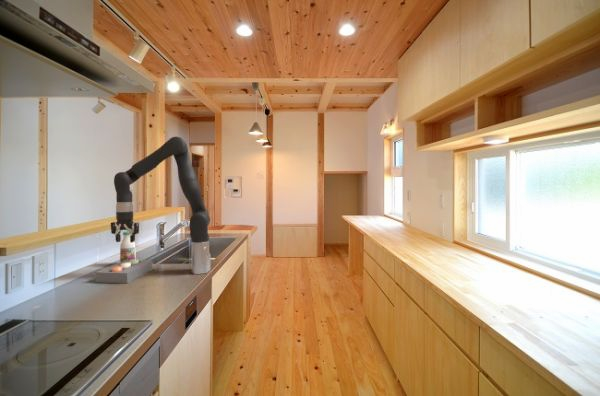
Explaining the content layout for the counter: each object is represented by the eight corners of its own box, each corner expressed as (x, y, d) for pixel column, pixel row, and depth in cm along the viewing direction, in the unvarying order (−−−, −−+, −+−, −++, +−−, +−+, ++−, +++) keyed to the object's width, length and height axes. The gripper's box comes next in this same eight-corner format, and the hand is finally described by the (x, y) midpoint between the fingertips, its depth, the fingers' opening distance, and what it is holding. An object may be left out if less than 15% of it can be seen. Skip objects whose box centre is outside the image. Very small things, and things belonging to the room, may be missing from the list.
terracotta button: (124, 273, 138) (124, 266, 138) (118, 276, 133) (118, 268, 133) (116, 273, 138) (115, 265, 138) (109, 276, 134) (109, 268, 133)
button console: (152, 269, 152) (152, 260, 152) (127, 283, 132) (127, 273, 131) (125, 268, 153) (124, 260, 153) (95, 282, 132) (95, 272, 132)
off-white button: (132, 269, 144) (132, 262, 144) (127, 272, 140) (127, 264, 140) (124, 269, 144) (124, 262, 144) (119, 272, 140) (118, 264, 140)
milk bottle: (121, 263, 162) (121, 230, 161) (136, 262, 165) (136, 230, 164) (119, 267, 155) (118, 233, 154) (134, 266, 158) (134, 232, 157)
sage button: (140, 265, 151) (140, 258, 151) (135, 268, 146) (135, 261, 146) (132, 265, 151) (132, 258, 151) (127, 268, 147) (127, 260, 146)
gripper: (142, 210, 144) (143, 240, 145) (116, 209, 144) (117, 240, 145) (133, 211, 136) (133, 244, 137) (105, 211, 137) (106, 243, 138)
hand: (125, 241), depth 141 cm, fingers open, 7 cm apart
